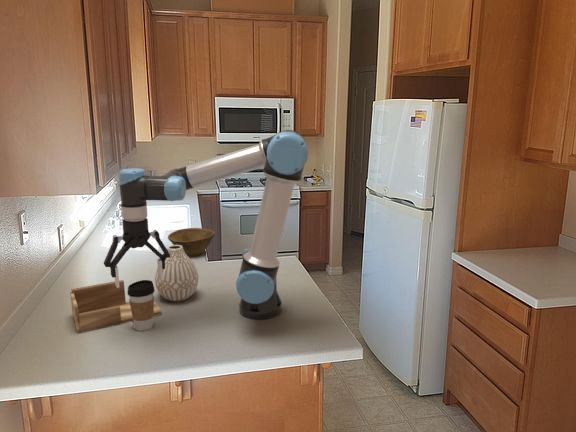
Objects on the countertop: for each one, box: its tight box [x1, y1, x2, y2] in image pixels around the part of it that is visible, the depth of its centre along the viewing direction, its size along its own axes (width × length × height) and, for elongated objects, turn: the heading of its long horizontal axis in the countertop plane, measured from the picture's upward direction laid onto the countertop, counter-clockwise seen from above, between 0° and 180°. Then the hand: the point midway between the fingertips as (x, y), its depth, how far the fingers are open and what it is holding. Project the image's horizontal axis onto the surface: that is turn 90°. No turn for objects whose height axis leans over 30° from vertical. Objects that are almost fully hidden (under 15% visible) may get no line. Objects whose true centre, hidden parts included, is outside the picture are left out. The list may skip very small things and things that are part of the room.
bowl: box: [167, 227, 215, 257], centre depth 227 cm, size 22×23×10 cm
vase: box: [154, 244, 199, 302], centre depth 174 cm, size 16×16×20 cm
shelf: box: [69, 279, 163, 334], centre depth 160 cm, size 14×27×10 cm, turn 120°
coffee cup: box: [127, 279, 156, 332], centre depth 152 cm, size 8×8×15 cm
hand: (139, 282), depth 150 cm, fingers open, 13 cm apart
